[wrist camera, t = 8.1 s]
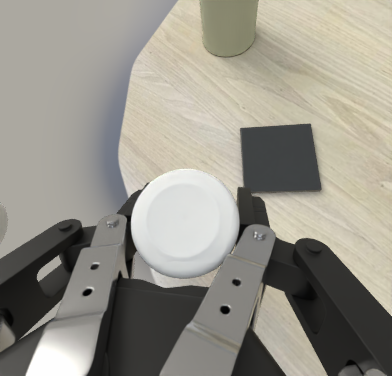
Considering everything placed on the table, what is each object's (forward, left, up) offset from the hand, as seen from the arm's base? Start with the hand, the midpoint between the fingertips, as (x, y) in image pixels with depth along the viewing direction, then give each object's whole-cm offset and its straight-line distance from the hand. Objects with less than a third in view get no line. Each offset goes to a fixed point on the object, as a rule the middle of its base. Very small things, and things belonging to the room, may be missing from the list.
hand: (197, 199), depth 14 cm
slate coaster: (+6, +12, -18) cm, 23 cm away
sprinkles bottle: (0, -2, -9) cm, 9 cm away
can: (-6, +34, -18) cm, 39 cm away
